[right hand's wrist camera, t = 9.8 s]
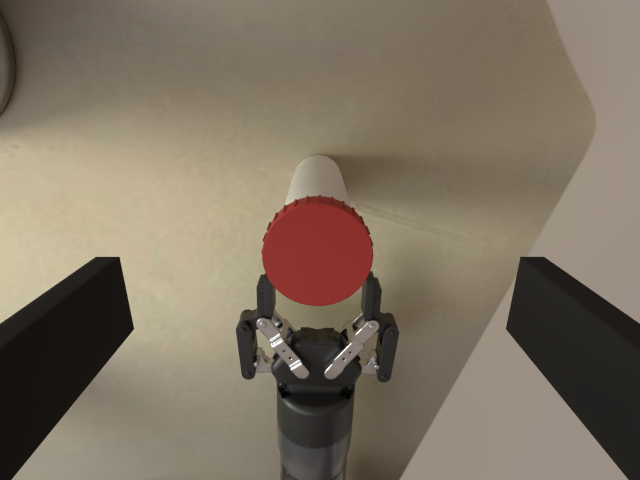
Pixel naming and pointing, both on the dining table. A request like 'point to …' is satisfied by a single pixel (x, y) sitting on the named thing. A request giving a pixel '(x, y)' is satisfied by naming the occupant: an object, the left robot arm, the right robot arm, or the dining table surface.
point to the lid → (317, 251)
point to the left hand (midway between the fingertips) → (319, 273)
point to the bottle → (317, 180)
